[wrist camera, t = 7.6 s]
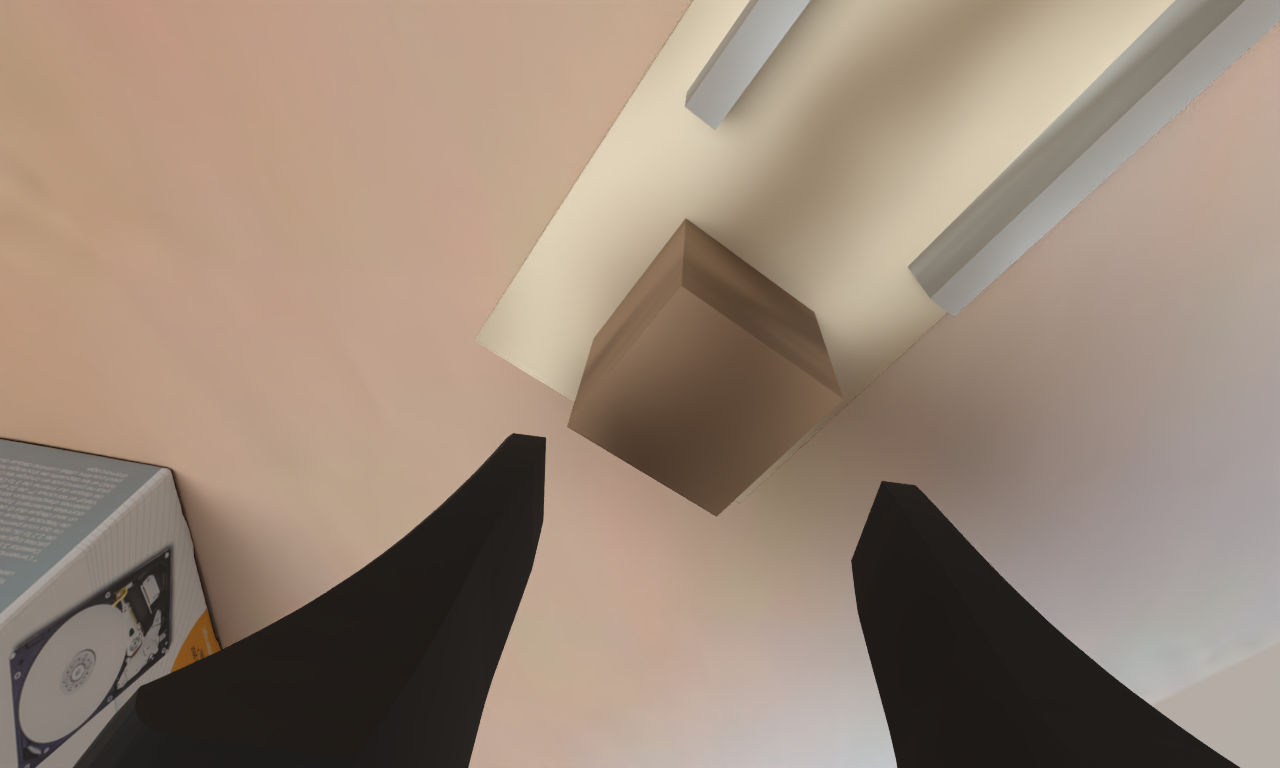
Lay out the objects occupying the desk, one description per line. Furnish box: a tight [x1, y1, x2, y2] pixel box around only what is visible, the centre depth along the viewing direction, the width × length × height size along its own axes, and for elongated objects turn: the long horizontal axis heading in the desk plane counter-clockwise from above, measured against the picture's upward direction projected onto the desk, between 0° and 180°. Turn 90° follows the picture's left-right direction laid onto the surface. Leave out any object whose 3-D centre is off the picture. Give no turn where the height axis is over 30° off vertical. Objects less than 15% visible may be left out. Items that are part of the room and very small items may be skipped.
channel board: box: [474, 0, 1280, 503], centre depth 15 cm, size 10×26×4 cm, turn 145°
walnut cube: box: [567, 218, 843, 517], centre depth 17 cm, size 4×4×4 cm
